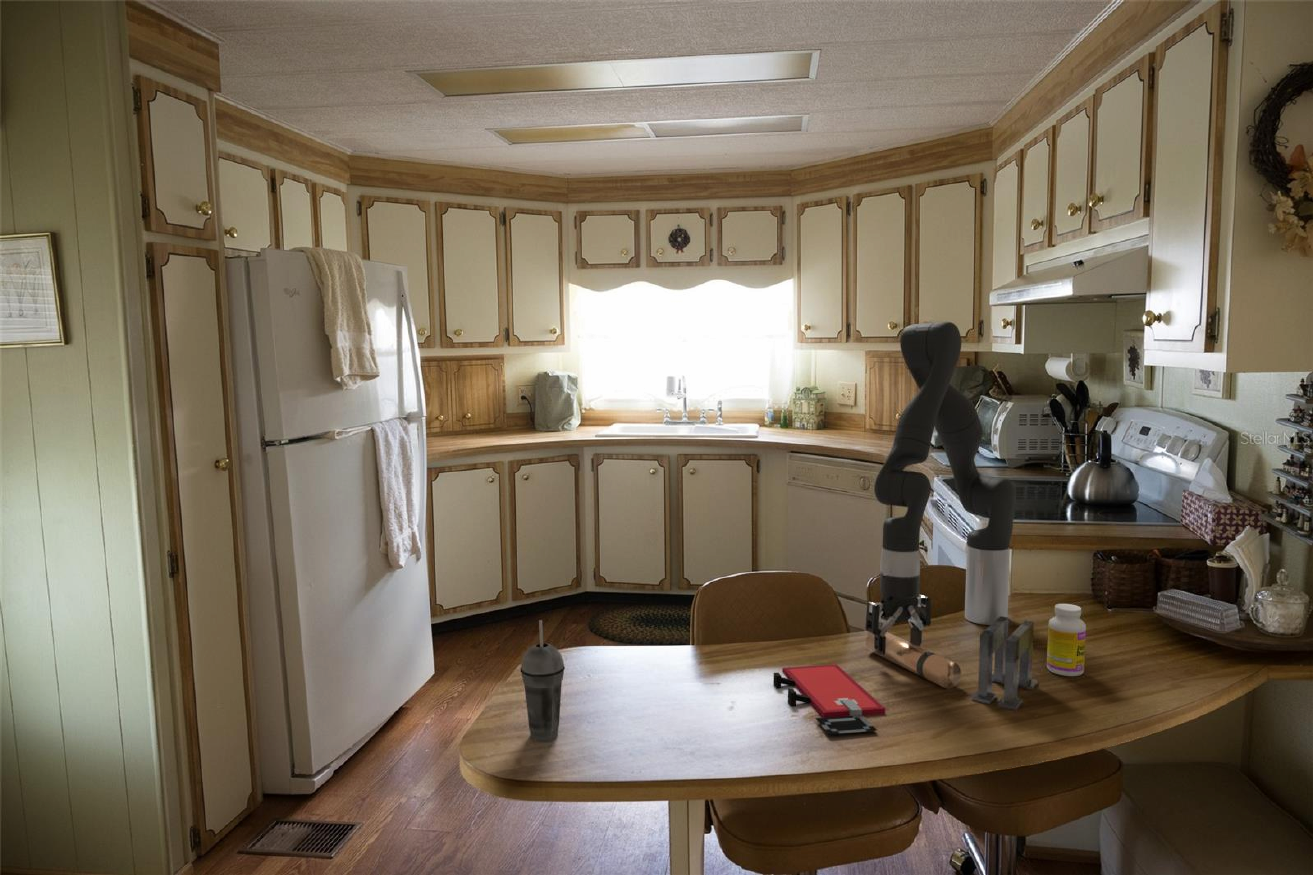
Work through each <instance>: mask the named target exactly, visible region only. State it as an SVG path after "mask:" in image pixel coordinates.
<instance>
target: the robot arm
mask: <svg viewBox="0 0 1313 875" xmlns="http://www.w3.org/2000/svg"><path fill="white" fill-rule="evenodd" d="M899 338H900V340H899V343H900V351H901V354H902V358H903V361H904V363H905V366H906V367H907V369H908V371H909V373H910V375H911V376H912V378H913V380H914V383H915V384H916V386H917V387H918V389H919V390H918V392H917V393H916V394H915V395H914V396H913V398H912V399H911V400H910V401H909V402H908V404H907V405H906V406H905V407H904V409H903V411H902V412H901V414H900V416H899V419H898V422H897V426H896V430H895V434H894V439H893V443H892V447H891V449H890V451H889V454H888V455H887V458H886V460H885V461H884V463H883V465H882V467H881V469H880V470H879V472H878V474H877V476H876V478H875V481H874V488H873V490H874V492H873V493H874V495H875V496H874V497H876V499H877V501H878V502H879V503H880V504H882V505H885V506H892V507H893V506H894V507H895V506H897V507H903V508H907V510H906V513H905V515H904V516H894V517H889V518H887V519H885V520H884V522H883V525H882V544H881V545H882V547H881V554H880V555H881V556H880V576H879V577H880V579H879V592H880V596H881V600H880V602H872V601H868V602H867V604H866V614H865V615H866V616H865V628H864V629H865V631H866V632H868V633H869V632H870V633H872V634H874V649H875V650H876V652H877V653H879V654H881V655H882V654H885V651H886V636H885V634H886V632H888V631H889V629H890V628H892V627H893V626H894V624H895V623H896V624H897V623H900V622H908V623H909V625H910V626H911V628H909V629H910V634H909V636H910V637H909V642H910V643H912V644H915V645H917V646H919V647H921V645H922V638H923V635H922V634H923V630H924V629H925V628H926V627H929V626H931V624H932V612H931V610H932V609H931V598H930V597H929V596H926V595H923V594H920V581H921V577H920V576H921V557H920V556H921V555H920V535H921V534H920V531H921V525H922V520H923V517H924V513H925V511H926V507H927V504H928V502H929V499H930V497H931V496H930V495H931V491H932V490H931V489H932V486H931V485H932V484H931V482H930V480H929V477H928V476H927V475H926V474H925V473H923V472H921V471H920V472H919V471H913V470H912V471H911V470H910V471H909V470H908V471H907V470H905V469H906V468H907V467H909V466H911V465H918V464H922V463H924V462H926V461H927V459H928V458H929V454H930V448H931V444H932V439H933V434H934V429H935V430H936V433H937V437H938V438H939V441H940V442H941V445H942V447H943V450H944V453H945V455H946V458H947V461H948V463H949V466H950V469H951V471H952V472H951V473H952V475H953V479H954V484H955V487H956V490H957V494H958V498H959V501H960V503H961V506H962V508H963V509H964V510H965V511H966V512H967V513H969V514H971V515H974V516H980V517H986V518H988V524H987V526H986V527H983V528H979V529H975V530H971V531H969V532H968V533H967V538H966V564H965V598H964V618H965V619H966V620H967V621H969V622H971V623H975V624H978V625H987V626H990V625H991V624H993V623H994V622H995V621H996V620H997V619H998V618H999V617H1000V616H1002V617H1008V611H1009V610H1008V607H1009V580H1010V552H1011V551H1010V548H1011V539H1012V535H1013V530H1014V529H1013V528H1014V516H1015V507H1016V506H1015V505H1016V490H1015V486H1014V485H1015V484H1014V483H1013V482H1012V480H1011V479H1008V478H1006V477H1000V476H992V475H991V476H989V475H984V474H981V473H980V472H979V470H978V468H977V466H976V463H975V462H976V461H975V457H976V455H977V453H978V451H979V448H980V445H981V444H982V441H983V436H984V429H983V425H982V422H981V419H980V417H979V413H978V411H977V409H976V407H975V404H974V403H973V402H972V401H971V400H970V399H969V397H967V396H966V394H964V393H963V392H962V391H961V390H959V389H958V388H957V387H956V386H954V385H953V384H952V383H951V380H952V378H953V375H954V373H955V370H956V368H957V365H958V362H959V359H960V355H961V350H962V337H961V332H960V329H959V328H958V326H957V325H956V323H954V322H951V321H937V322H926V323H916V324H911V325H908V326H906V327H904V329H903V330H902V332H901V334H900V337H899ZM916 609H917V611H916ZM886 619H887V620H886Z"/></svg>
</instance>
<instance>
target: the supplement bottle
mask: <svg viewBox="0 0 1313 875" xmlns="http://www.w3.org/2000/svg"><path fill="white" fill-rule="evenodd" d="M1054 613H1055V616H1052V617H1051V618H1050V619H1049V620H1048V625H1047V626H1048V627H1047V628H1048V631H1047V632H1048V634H1047V649H1046V650H1047V651H1046V653H1047V655H1046V667H1047V669H1048V671H1050V672H1051V673H1053V674H1056V675H1059V676H1064V677H1078V676H1081V675H1082V674H1084V672H1085V657H1086V656H1085V654H1086V640H1087V639H1086V638H1087V637H1086V636H1087V635H1086V634H1087V625H1086V624H1085V622H1084V621H1083V620H1082V619H1081V615H1082V608H1081V607H1080V606H1079V605H1075V604H1071V603H1058V604H1057V603H1056V604H1055V605H1054Z"/></svg>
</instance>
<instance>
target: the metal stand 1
mask: <svg viewBox="0 0 1313 875" xmlns="http://www.w3.org/2000/svg"><path fill="white" fill-rule="evenodd" d="M1008 637H1009V617H1008V616H1007V617H1002V616H1000V617H999V618H998V619H997V620H996V621H995V622H994V623H993V624H991V625H988V627H987V628H986V629H984V630H983V631H982V632H981V633H980V635H979V658H978V688H977V689H978V690H977V691H975V693H974V694H973V695H972V696H971V701H973V702H977V703H978V702H979V703H981V704H988V705H991V704H992V703H993V701H994V700H995V699H996V698H997V693H995V692H994V693H993V692H992V689H993V688H992V686H993V684H992V683H997V684H1002V685H1005V657H1006V639H1007V638H1008ZM993 653H994V654H993ZM993 655H994V656H993ZM993 658H994V666H993ZM993 667H994V670H993Z"/></svg>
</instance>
